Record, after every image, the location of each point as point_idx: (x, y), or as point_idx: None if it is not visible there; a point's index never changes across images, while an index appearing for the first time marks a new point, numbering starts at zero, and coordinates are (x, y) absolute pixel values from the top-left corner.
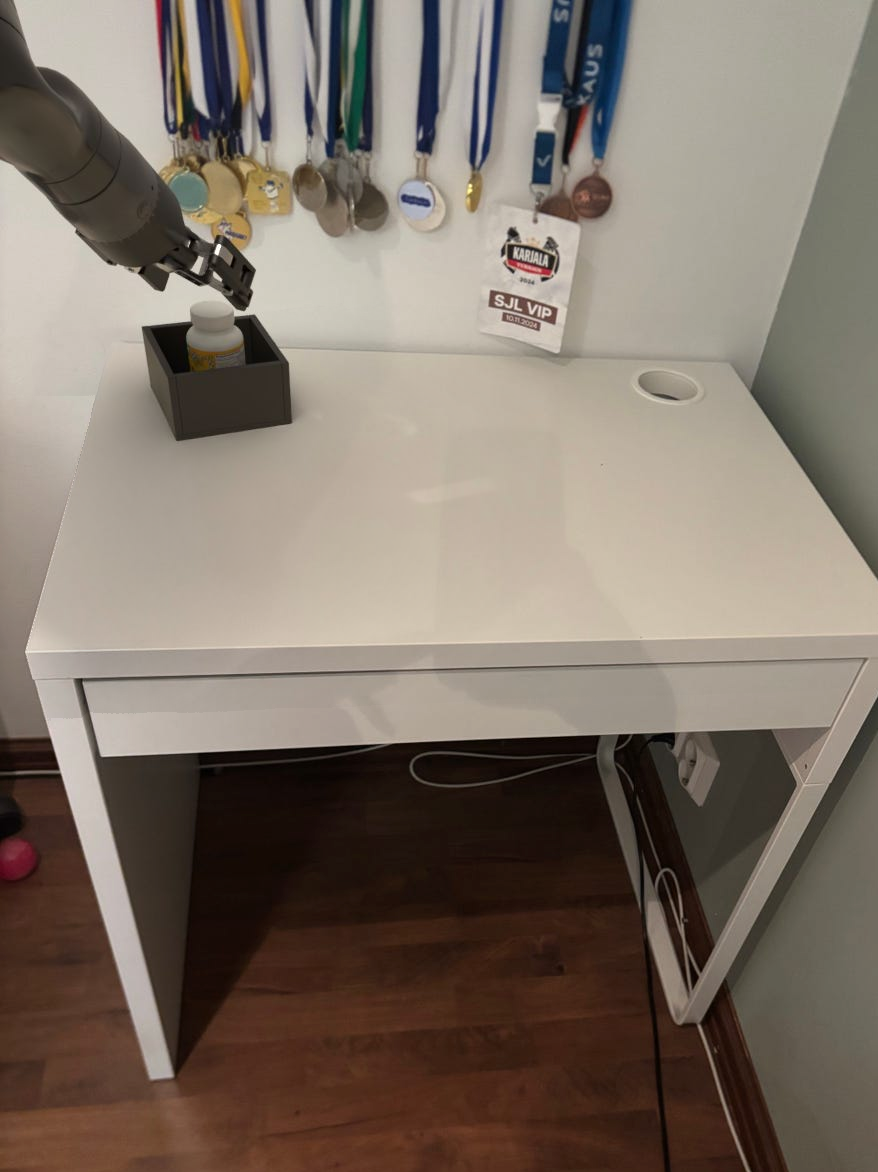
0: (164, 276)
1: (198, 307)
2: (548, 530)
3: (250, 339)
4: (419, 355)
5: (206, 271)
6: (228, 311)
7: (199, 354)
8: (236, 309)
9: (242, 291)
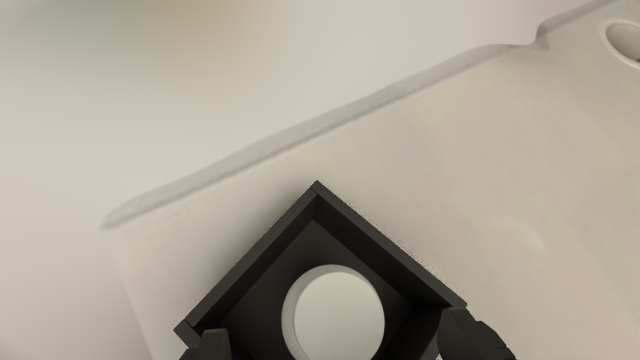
0: (225, 357)
1: (312, 331)
2: None
3: (314, 206)
4: (432, 90)
5: None
6: (376, 309)
7: None
8: (441, 356)
9: None
